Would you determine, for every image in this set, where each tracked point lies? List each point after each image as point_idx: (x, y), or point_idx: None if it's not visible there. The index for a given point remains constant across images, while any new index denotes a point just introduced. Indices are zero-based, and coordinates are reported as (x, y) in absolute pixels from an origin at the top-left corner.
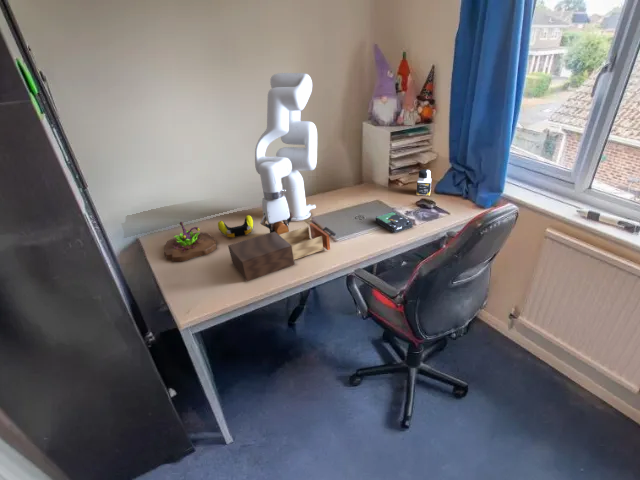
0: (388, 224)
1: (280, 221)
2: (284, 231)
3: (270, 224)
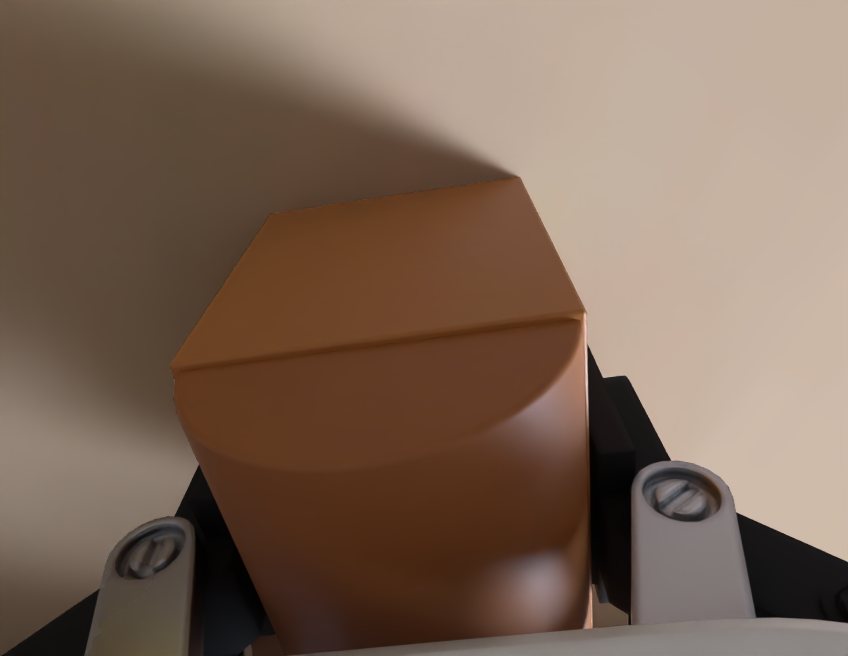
0: None
1: (529, 624)
2: None
3: (170, 636)
